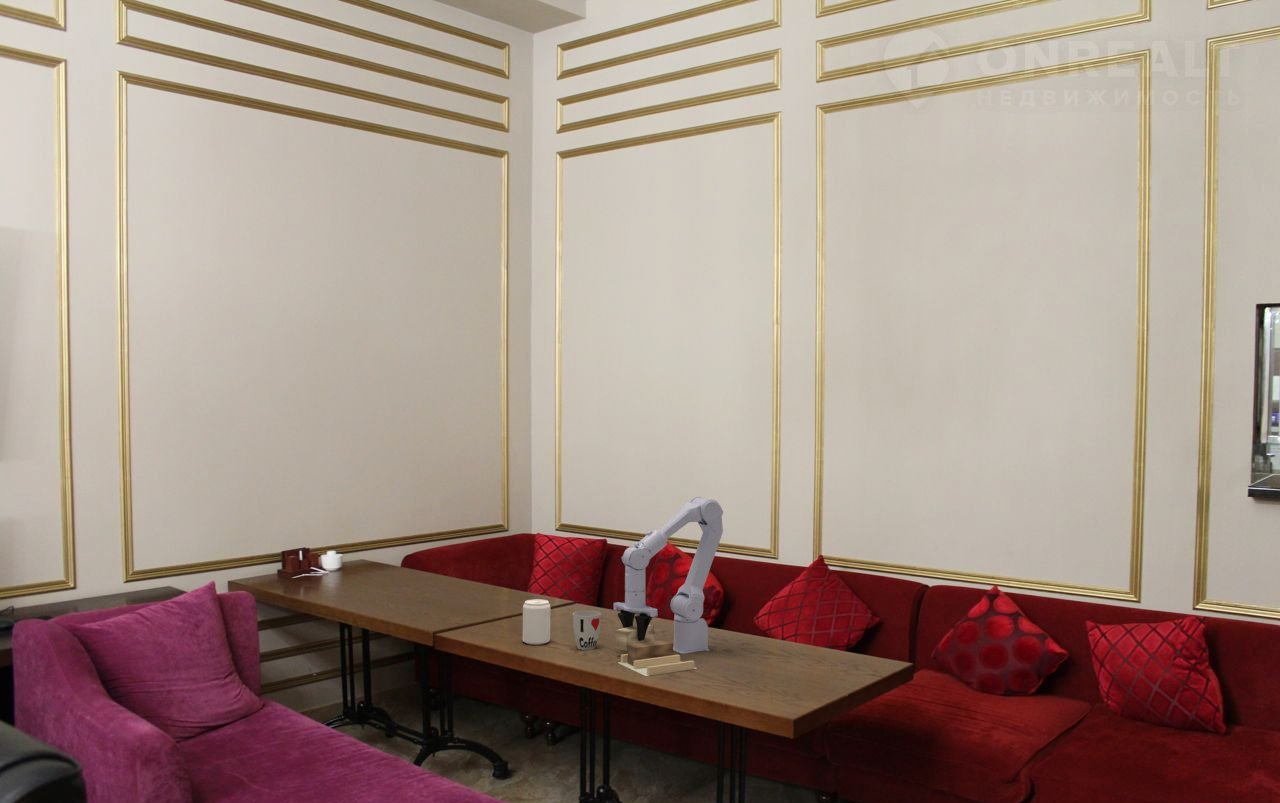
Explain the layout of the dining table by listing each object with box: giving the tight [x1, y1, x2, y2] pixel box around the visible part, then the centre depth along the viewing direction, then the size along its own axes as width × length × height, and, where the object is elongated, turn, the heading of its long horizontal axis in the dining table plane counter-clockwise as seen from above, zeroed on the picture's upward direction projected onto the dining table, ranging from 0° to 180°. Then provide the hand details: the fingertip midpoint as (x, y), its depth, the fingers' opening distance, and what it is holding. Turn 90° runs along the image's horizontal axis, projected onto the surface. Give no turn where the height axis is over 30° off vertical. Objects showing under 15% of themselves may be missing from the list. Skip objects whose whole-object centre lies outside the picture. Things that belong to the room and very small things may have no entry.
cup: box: [572, 610, 602, 651], centre depth 283 cm, size 8×8×10 cm
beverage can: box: [522, 598, 551, 646], centre depth 289 cm, size 8×8×12 cm
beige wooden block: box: [614, 623, 655, 652], centre depth 275 cm, size 12×4×5 cm, turn 140°
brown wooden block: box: [627, 639, 674, 666], centre depth 265 cm, size 12×4×5 cm, turn 120°
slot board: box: [617, 653, 698, 677], centre depth 262 cm, size 16×15×3 cm
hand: (635, 638), depth 275 cm, fingers closed on beige wooden block, 4 cm apart
